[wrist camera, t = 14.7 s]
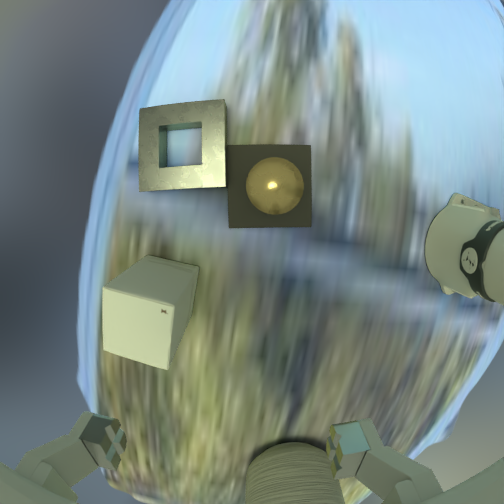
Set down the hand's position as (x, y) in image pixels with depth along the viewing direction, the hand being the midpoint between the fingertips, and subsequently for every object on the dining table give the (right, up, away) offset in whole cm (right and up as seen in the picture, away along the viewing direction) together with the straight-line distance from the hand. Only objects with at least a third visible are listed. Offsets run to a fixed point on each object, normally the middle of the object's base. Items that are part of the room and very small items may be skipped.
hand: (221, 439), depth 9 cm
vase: (+10, -42, +45) cm, 62 cm away
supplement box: (-12, +2, +35) cm, 37 cm away
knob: (+3, +16, +31) cm, 35 cm away
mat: (+4, +16, +31) cm, 35 cm away
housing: (-8, +22, +30) cm, 38 cm away
